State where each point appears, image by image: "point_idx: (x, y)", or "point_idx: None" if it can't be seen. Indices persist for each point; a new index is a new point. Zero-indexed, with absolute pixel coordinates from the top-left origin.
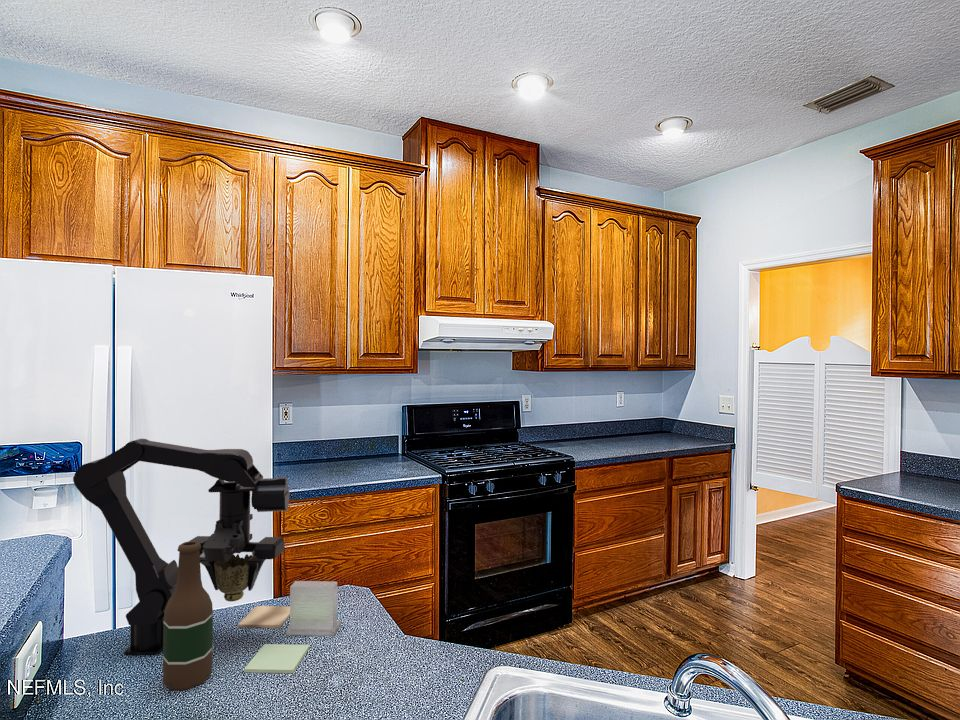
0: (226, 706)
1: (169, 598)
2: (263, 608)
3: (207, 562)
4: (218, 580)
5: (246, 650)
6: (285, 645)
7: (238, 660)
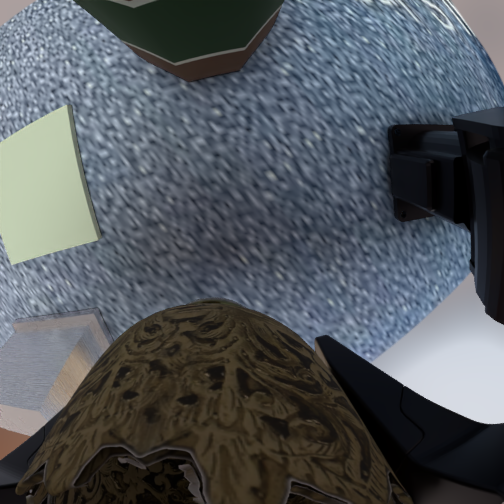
0: (49, 2)
1: (494, 151)
2: None
3: (488, 471)
4: (268, 352)
5: (137, 207)
6: (48, 247)
7: (121, 150)
